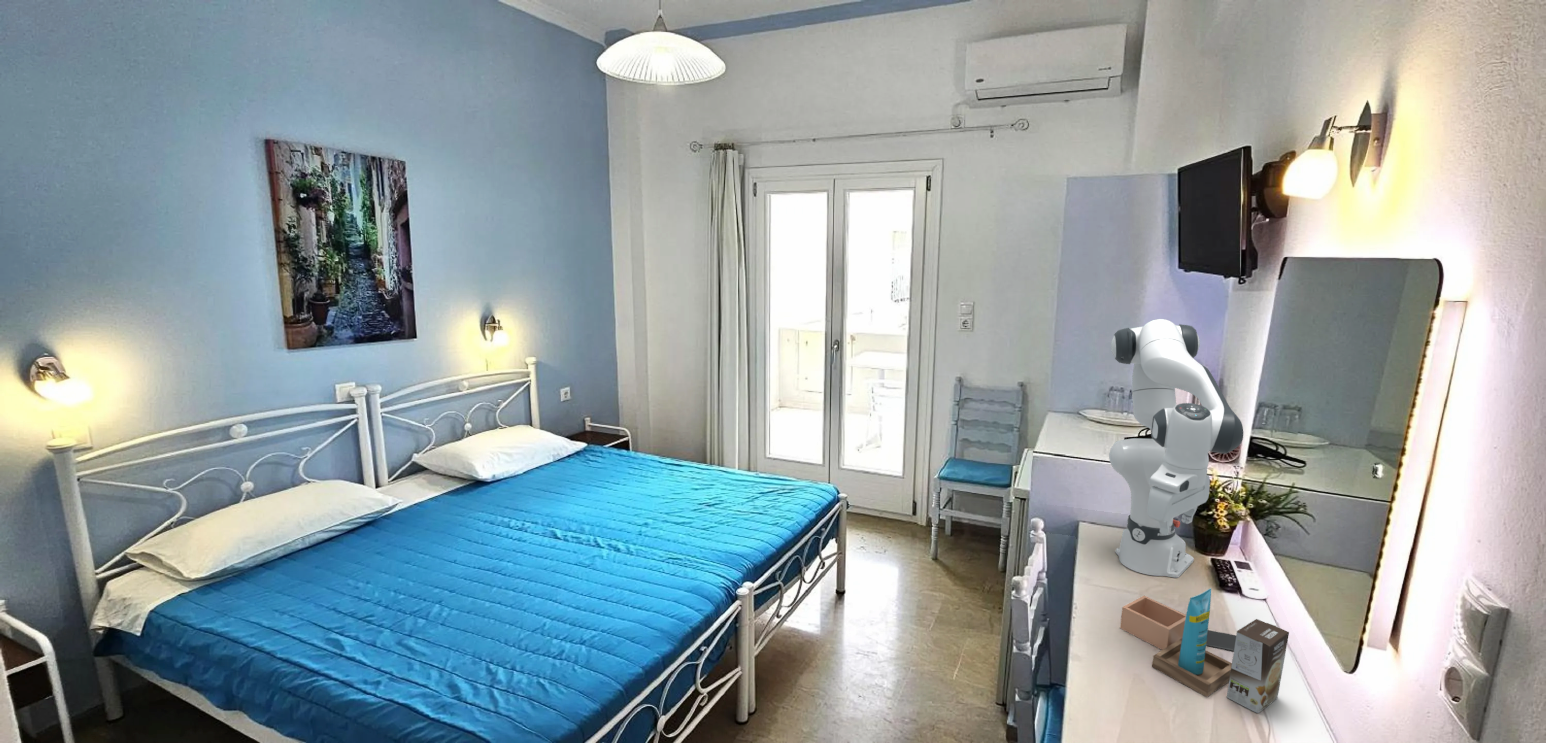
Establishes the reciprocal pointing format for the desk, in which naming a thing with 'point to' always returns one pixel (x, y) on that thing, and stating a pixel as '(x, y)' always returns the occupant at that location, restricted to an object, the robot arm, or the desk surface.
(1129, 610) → the pink open box
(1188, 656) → the tube
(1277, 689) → the coffee box
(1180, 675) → the tray
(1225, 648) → the smartphone
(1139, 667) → the desk surface
